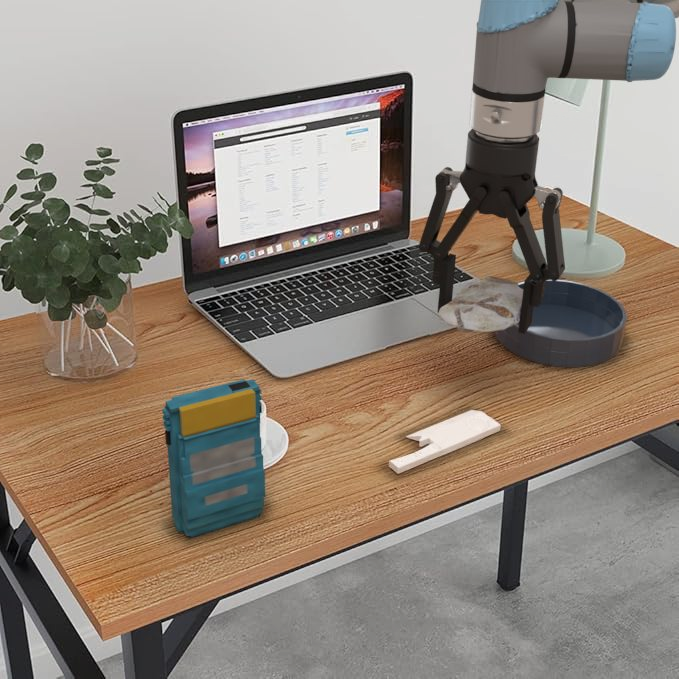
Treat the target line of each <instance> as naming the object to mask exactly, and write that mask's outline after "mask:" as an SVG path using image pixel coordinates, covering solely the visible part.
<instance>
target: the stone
mask: <svg viewBox="0 0 679 679" xmlns="http://www.w3.org/2000/svg"><path fill="white" fill-rule="evenodd" d="M518 283H519V282H517V281H514V280H511V279H508V278H504V277H499V276H498V277H496V276H491V275H488V276H486V277H485V278H484V279H481V280H479V281H474V282H469V283H467V284H465V285H463V286H461V288H460V289H459V291H458V293H456V296H454V297H452V301H451V302H449V303H448V304H446V305H444V306H443V307H441V308H440V310H439V313H438V317H439V318H440V320H442V321H443V322H444V323H446V324H447V325H450V326H453V327H456V329H457V331H458V332H460V333H474V332H478V333H492V332H494V331H499V330H505V329H506V328H508V327H512V326H513V325H515V324H517V323H518V322H519V321H520V313H521V305H522V297H523V289H521V288H520V287H519V286H518Z"/></svg>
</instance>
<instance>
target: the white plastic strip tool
mask: <svg viewBox="0 0 679 679" xmlns="http://www.w3.org/2000/svg"><path fill="white" fill-rule="evenodd" d="M501 426H502V425H501V424H500V423H499V421H497V420H495V419H494V417H491V416H489V415H487V413H485V412H483V411H482V410H475V409H469V410H467V411H465V412H463V413H460V414H458V415H456V416H453V417H450V418H448V419H446V420H442V421H441V422H438V423H435V424H434V425H431V426H428V427H426V428H423V429H420V430H418V431H416V432H413V433H411V434H408V435H406V436H405V438H407V439H410V440H413V441H417V442H419V443H418V446H419V448H421V449H419V450H415V451H414V452H412V453H409V454H407V455H403V456H400V457H397V458H394V459H390V460H388V467H389V468H390V469H391V470H393V471H394V472H395V473H396V474H397V475H399V474H401V473H404V472H407V471H409V470H411V469H413V468H415V467H418V466H421V465H422V464H425V463H428V462H430V461H432V460H435V459H437V458H439V457H442V456H444V455H447V454H449V453H452V452H454V451H456V450H457V451H458V450H459V449H462V448H463V447H467V446H469V445H471V444H473V443H475V442H479V441H481V440H483V439H484V438H486V437H488V436H490V435H493V434H495V433H498V432H501ZM424 446H425V447H424ZM422 447H423V448H422Z"/></svg>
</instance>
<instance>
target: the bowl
mask: <svg viewBox="0 0 679 679" xmlns="http://www.w3.org/2000/svg"><path fill="white" fill-rule="evenodd" d="M517 283H518V286H519V287H520V288H521V289H524V281H522V282H517ZM627 319H628V317H627V310H626V309H625V307H624V306H623V304H622V302H620V301H619V300H618V299H616V298H615V297H614V296H613V295H611V294H609V293H607V292H605V291H603V290H602V289H599V288H597V287H594V286H591V285H589V284H585V283H582V282H577V281H572V280H564V279H558V280H556V281H552V280H546V285H545V292H544V299H543V300H542V302H541V303H540V305H539V306H538V307H536V306H534V308H533V315H532V323H531V325H530V326H529V328H528V329H527V331H526V332H525V334H523V333H519V332H518V329H519V322H518V323H517V324H515V325H513V326H512V327H508V328H506V329H505V330H499V331H493V332H494V336H495V337H496V340H498V342H499V343H500V344H501V345H502V346H503V347H504V348H505V349H507V350H508V351H509V352H511V353H513V354H515V355H516V356H518V357H520V358H523V359H524V360H527V361H531V362H534V363H536V364H540V365H546V366H552V367H560V368H583V367H591V366H595V365H599V364H602V363H605V362H607V361H609V360H611V359H612V358H614V357H615V356H616V355H617V354H618V353H619V352H620V350H621V348H622V345H623V343H624V338H625V332H626V327H627V322H628V320H627Z"/></svg>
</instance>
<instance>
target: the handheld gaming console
mask: <svg viewBox="0 0 679 679" xmlns="http://www.w3.org/2000/svg"><path fill="white" fill-rule="evenodd" d="M261 394H262V389H261V388H260V386H259V384H258V383H257V382H256V381H255V380H254V378H252V379H248V380H246V379H244V378H243V379H240V380H236V381H235V380H234V381H231V382H227V383H223V384H219V385H215V386H212V387H208V388H204V389H200V390H196V391H192V392H188V393H184V394H180V395H176V396H173V397H171V399H169V400H165V402H164V403H165V405H164V408H161V412H162V414H163V415H162V420H163V422H162V426H163V427H164V429H165V430H164V436H165V444H166V446H167V458H168V459H167V460H168V461H167V462H168V473H169V489H170V490H169V491H170V501H171V502H170V503H171V518H172V519H173V525H174V528H175V529H176V531H177V532H178V535H179V534H184V535H185V536H186V537H189V538H190V539H192V538H195V537H198V536H203V535H205V534H208V533H212V532H215V531H218V530H221V529H225V528H227V527H231V526H234V525H237V524H240V523H243V522H247V521H251V520H253V519H256V518H259V517H260V514H263V507H265V498H266V469H265V468H264V455H263V453H262V437H261V414H262V412H263V408H262V406H263V405H262V402H261V401H262V396H261Z"/></svg>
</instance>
